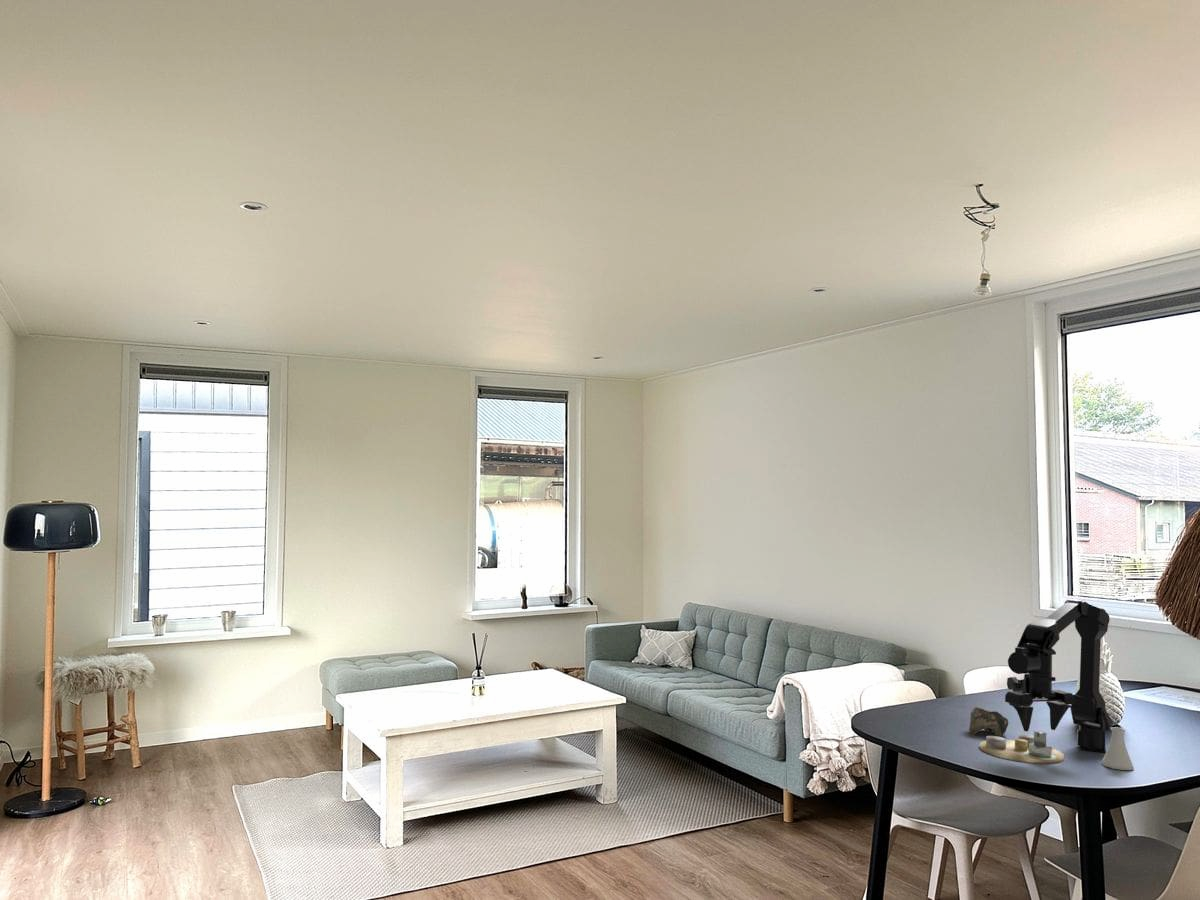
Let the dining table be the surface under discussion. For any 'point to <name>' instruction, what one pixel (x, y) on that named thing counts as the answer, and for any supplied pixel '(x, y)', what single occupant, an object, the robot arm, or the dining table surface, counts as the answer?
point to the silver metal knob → (1040, 746)
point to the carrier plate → (1016, 749)
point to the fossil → (987, 721)
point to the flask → (1117, 752)
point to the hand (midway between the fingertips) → (1039, 730)
